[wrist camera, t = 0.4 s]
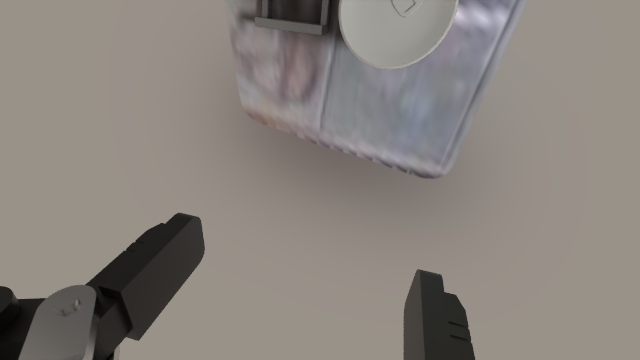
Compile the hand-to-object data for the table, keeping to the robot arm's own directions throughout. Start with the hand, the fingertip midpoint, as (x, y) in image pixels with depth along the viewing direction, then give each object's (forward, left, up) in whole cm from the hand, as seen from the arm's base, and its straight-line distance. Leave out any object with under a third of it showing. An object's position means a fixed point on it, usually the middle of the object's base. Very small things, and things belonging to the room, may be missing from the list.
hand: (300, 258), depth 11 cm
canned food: (-8, +1, -27) cm, 28 cm away
